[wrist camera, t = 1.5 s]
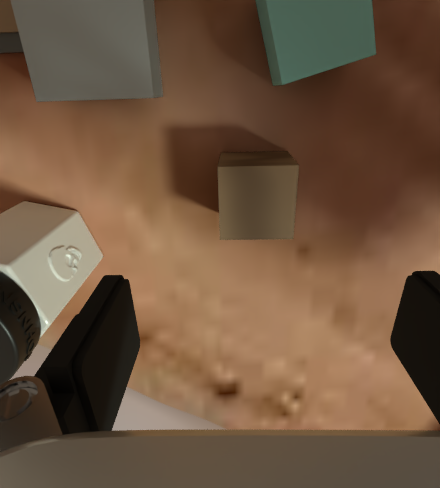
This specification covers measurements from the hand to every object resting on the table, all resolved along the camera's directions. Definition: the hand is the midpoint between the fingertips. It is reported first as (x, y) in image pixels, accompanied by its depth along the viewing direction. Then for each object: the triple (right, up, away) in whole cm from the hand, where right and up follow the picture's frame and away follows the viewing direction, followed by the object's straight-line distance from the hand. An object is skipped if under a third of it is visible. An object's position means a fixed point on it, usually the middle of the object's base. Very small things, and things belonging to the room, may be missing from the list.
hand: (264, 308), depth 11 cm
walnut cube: (+1, +7, +14) cm, 16 cm away
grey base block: (-9, +16, +10) cm, 21 cm away
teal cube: (+4, +16, +10) cm, 19 cm away
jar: (-16, +2, +18) cm, 24 cm away
